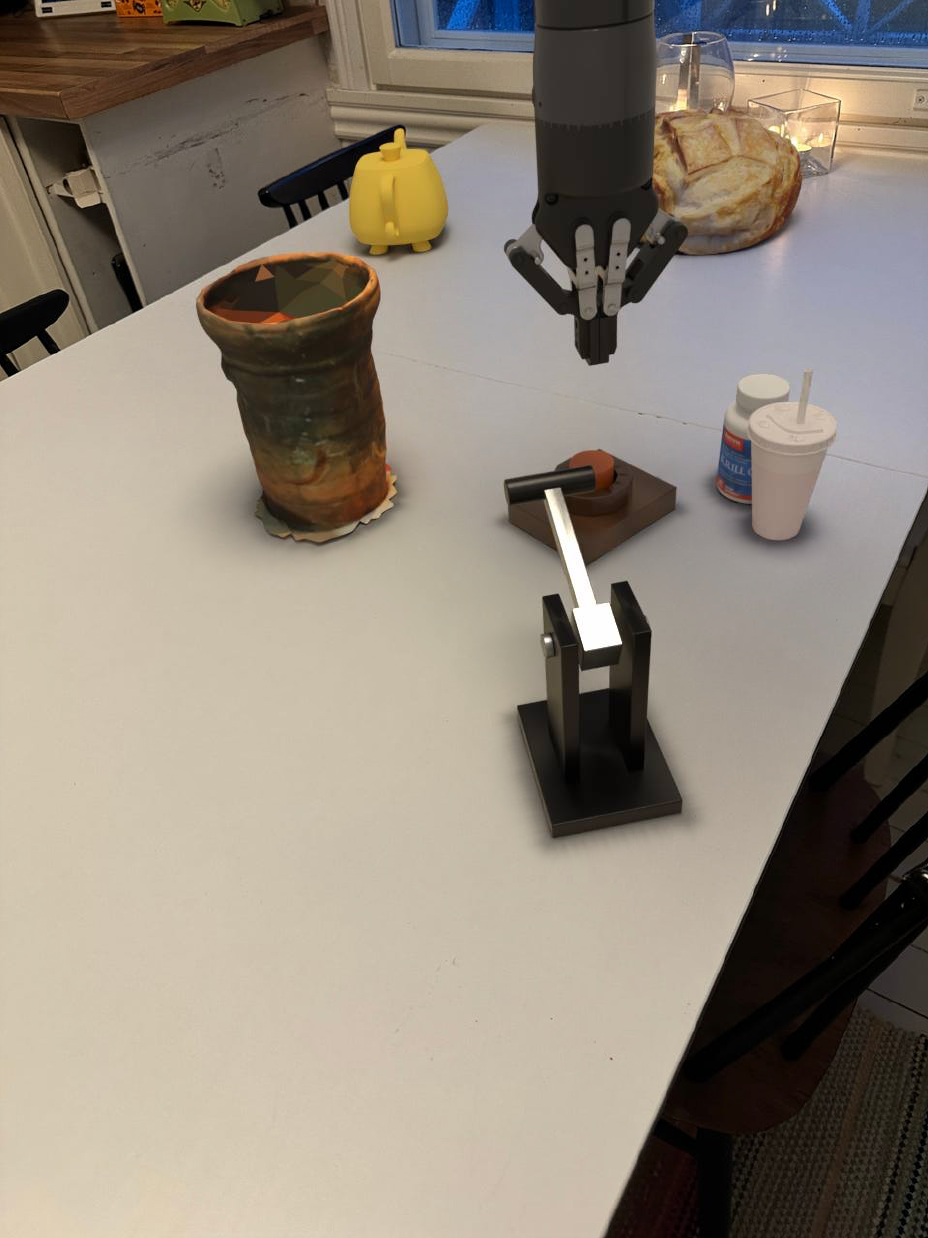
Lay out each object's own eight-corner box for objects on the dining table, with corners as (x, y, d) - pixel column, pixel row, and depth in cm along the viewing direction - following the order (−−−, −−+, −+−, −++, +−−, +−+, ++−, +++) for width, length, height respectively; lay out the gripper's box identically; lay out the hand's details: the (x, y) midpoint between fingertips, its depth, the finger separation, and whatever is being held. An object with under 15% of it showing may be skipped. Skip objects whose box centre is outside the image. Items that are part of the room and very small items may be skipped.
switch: (503, 494, 59) (503, 470, 57) (587, 479, 59) (590, 455, 57) (552, 677, 52) (554, 657, 50) (647, 659, 52) (652, 638, 50)
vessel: (440, 503, 82) (412, 282, 69) (295, 566, 77) (234, 341, 64) (366, 438, 92) (328, 233, 79) (232, 491, 87) (168, 281, 74)
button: (591, 462, 78) (591, 444, 77) (622, 478, 76) (623, 460, 75) (560, 480, 77) (560, 462, 76) (592, 497, 75) (591, 478, 74)
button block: (598, 469, 84) (599, 430, 81) (675, 508, 79) (678, 468, 76) (508, 521, 79) (505, 482, 77) (583, 567, 74) (583, 526, 71)
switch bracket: (517, 716, 63) (505, 570, 54) (632, 695, 63) (638, 546, 55) (552, 838, 55) (545, 690, 47) (682, 812, 56) (698, 661, 47)
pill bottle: (705, 495, 80) (715, 392, 73) (730, 464, 83) (742, 363, 76) (767, 512, 77) (783, 407, 70) (791, 480, 80) (808, 376, 74)
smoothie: (792, 560, 72) (822, 399, 63) (719, 532, 76) (737, 375, 66) (831, 520, 75) (865, 361, 66) (760, 495, 79) (782, 340, 70)
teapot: (345, 267, 126) (328, 168, 118) (367, 216, 141) (353, 125, 133) (445, 261, 125) (434, 159, 116) (456, 210, 139) (448, 117, 131)
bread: (615, 199, 141) (608, 90, 131) (806, 187, 131) (814, 67, 121) (574, 266, 124) (562, 145, 114) (789, 257, 114) (797, 125, 104)
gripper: (501, 133, 55) (519, 398, 66) (718, 99, 55) (699, 367, 67) (479, 104, 60) (499, 353, 72) (676, 73, 61) (665, 325, 72)
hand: (596, 359), depth 69 cm, fingers closed
